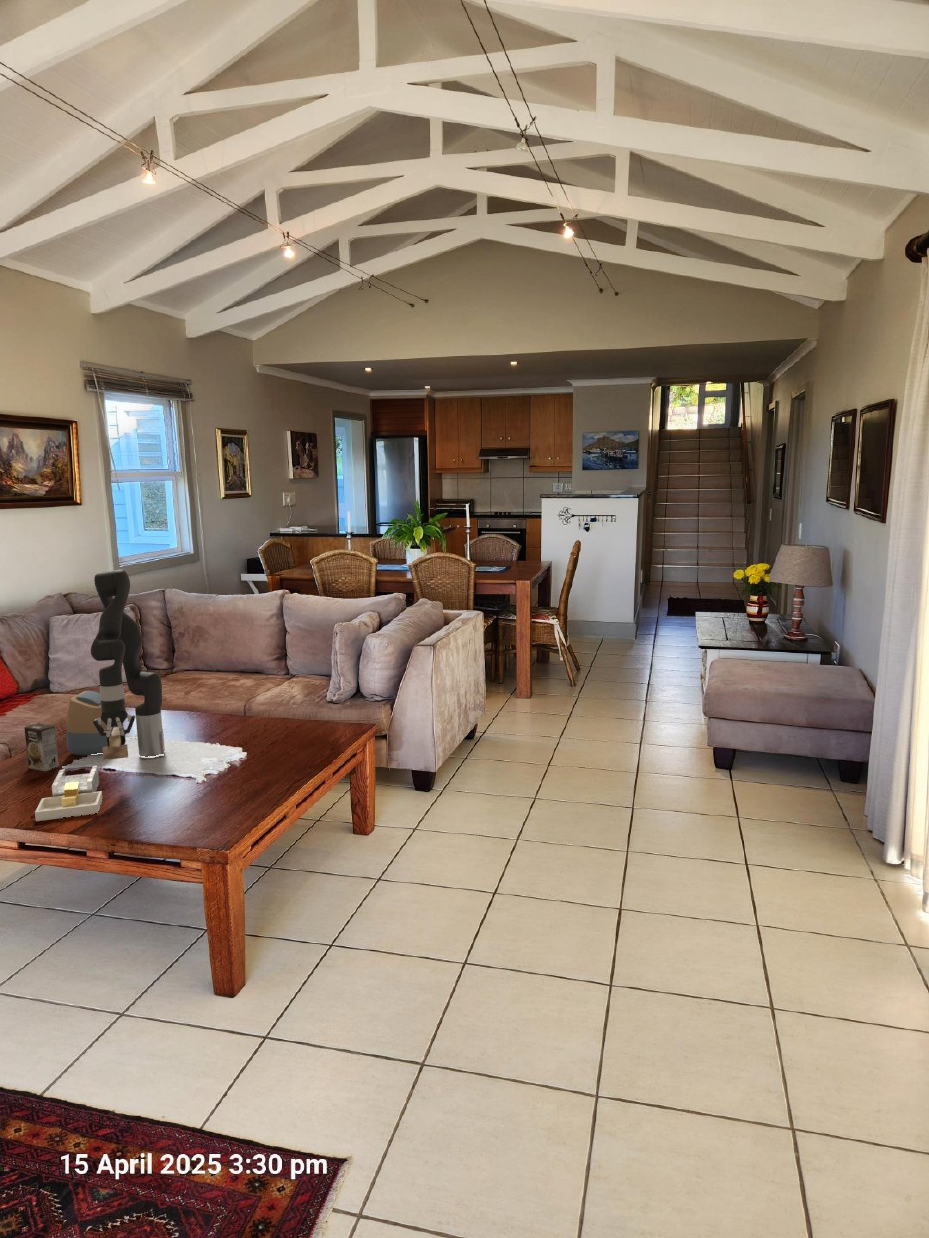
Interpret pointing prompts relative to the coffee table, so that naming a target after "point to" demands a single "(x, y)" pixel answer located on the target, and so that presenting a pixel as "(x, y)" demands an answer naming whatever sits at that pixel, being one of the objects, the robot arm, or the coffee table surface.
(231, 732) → the coffee table surface
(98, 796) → the tray
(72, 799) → the block
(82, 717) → the two-tone rounded housing
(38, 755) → the coffee box
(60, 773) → the channel
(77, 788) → the block
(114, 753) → the beige wedge bookend
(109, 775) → the coffee table surface
